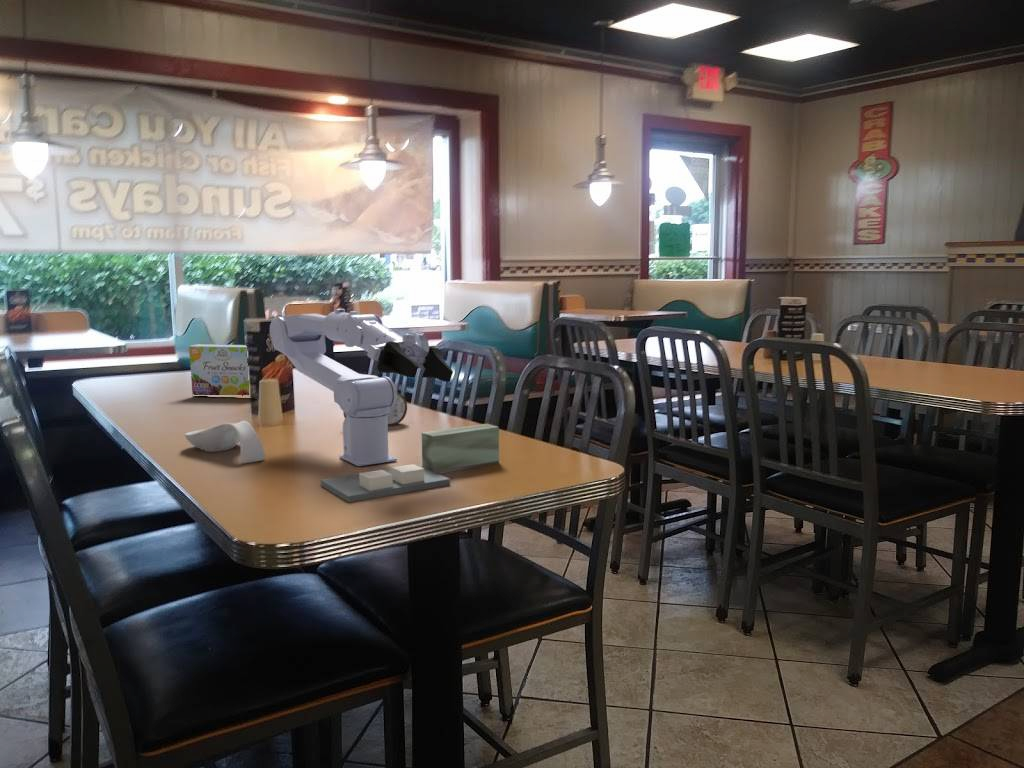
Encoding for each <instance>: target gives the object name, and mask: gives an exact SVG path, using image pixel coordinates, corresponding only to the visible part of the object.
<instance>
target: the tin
mask: <svg viewBox="0 0 1024 768" xmlns="http://www.w3.org/2000/svg"><path fill="white" fill-rule="evenodd" d="M396 392H397V397H396V401H395V404H394V406H393V407H392V408H391V413H387V421H388V427H394V426H397V425H398V424H400V423H401V422H402V421H403V420H404V419H405V417H406V415H407V412H408V402H407V399H406V397H404V396H403V395H402V394H401V393H399V392H398V391H397V390H396ZM342 412H343V411H342ZM343 416H344V419H345V418H346V417H347V415H345V413H344V412H343Z"/></svg>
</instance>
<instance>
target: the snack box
mask: <svg viewBox="0 0 1024 768" xmlns="http://www.w3.org/2000/svg"><path fill="white" fill-rule="evenodd" d="M246 345H247V344H215V343H214V344H212V343H211V344H209V343H208V344H207V343H204V344H203V343H200V344H199V343H198V344H192V345H189V346H188V349H189V350H188V351H189V364H190V365H189V367H190V377H191V380H190V381H191V392H192V395H193V394H194V395H242V396H243V395H249V380H248V368H247V366H248V363H247V346H246Z"/></svg>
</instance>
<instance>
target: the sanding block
mask: <svg viewBox="0 0 1024 768" xmlns="http://www.w3.org/2000/svg"><path fill="white" fill-rule="evenodd" d="M421 460H422V461H421V462H422V464H421V465H422V466H421V467H423V468H426V469H428V470H430V471H433V472H435V473H437V474H443V473H449V472H455V471H460V470H461V471H462V470H466V469H467V470H468V469H472V468H478V467H483V466H484V467H485V466H491V465H495V464H500V427H499V426H497V425H493V424H491V423H483V424H482V423H481V424H475V425H468V426H459V427H453V428H445V429H444V428H443V429H438V430H431V431H423V432H421Z"/></svg>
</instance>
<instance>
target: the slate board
mask: <svg viewBox="0 0 1024 768" xmlns="http://www.w3.org/2000/svg"><path fill="white" fill-rule="evenodd" d="M415 465H416V466H419V467H421V468H423V467H422V466H421V465H418V464H415ZM423 469H424V481H419V482H413V483H407V484H401V483H399V482H397V481H395V480H393V487H389V488H383V489H377V490H371V491H369V490H367V489H366V488H364V487H362V486H360V480H359V473H356V474H350V475H348V474H347V475H342V476H335V477H331V478H330V477H329V478H324V479H320V487H322V488H324V489H326V490H327V491H329V492H331V493H332V494H334V495H336V496H337V497H339V498H340V499H342V500H344V501H345V502H347V503H352V502H358V501H364V500H371V499H376V498H381V497H388V496H394V495H398V494H405V493H406V494H407V493H410V492H416V491H421V490H427V489H433V488H439V487H446V486H450V485H451V479H450V478H449V477H446V476H444V475H442V474H441V473H439V474H437V473H435V472H433V471H430V470H428V469H426V468H423ZM382 470H383V471H386V472H388V473H390V474H392V468H388V469H382Z"/></svg>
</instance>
